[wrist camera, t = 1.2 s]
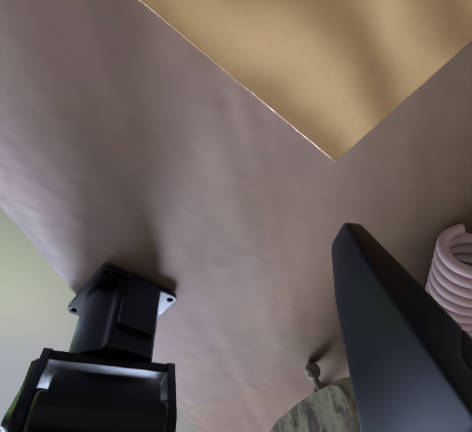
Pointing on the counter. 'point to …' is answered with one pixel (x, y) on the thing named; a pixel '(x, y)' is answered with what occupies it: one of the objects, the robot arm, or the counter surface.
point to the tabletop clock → (322, 408)
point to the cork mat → (325, 55)
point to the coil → (453, 275)
